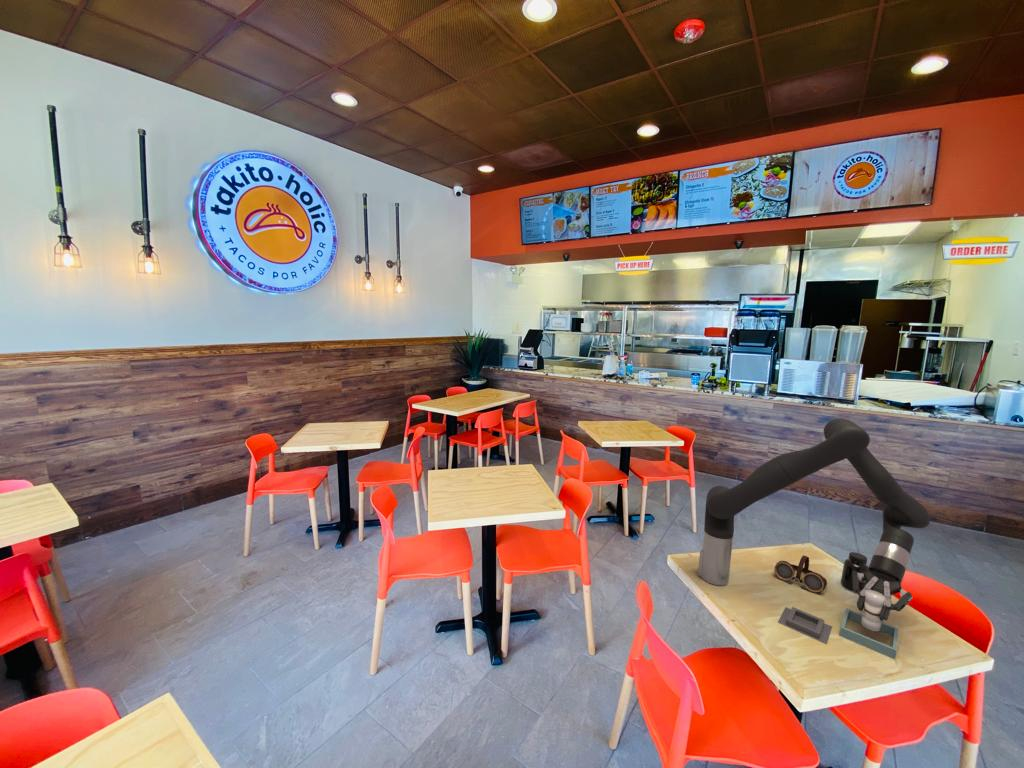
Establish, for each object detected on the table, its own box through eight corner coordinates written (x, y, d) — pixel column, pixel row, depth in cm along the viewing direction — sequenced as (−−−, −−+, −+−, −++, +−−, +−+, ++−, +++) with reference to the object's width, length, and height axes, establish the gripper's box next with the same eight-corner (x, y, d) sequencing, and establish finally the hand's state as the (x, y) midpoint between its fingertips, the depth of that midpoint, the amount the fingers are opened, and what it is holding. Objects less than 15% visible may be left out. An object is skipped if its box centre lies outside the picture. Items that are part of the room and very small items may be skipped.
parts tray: (838, 638, 121) (840, 627, 120) (844, 618, 129) (846, 608, 129) (894, 662, 112) (896, 650, 112) (896, 639, 121) (898, 628, 120)
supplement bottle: (859, 596, 140) (865, 563, 138) (836, 584, 146) (841, 552, 144) (869, 590, 143) (875, 558, 142) (846, 579, 149) (851, 548, 148)
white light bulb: (860, 626, 120) (865, 594, 119) (861, 618, 123) (866, 587, 122) (879, 633, 117) (884, 601, 116) (880, 626, 120) (885, 594, 119)
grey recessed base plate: (777, 625, 125) (778, 617, 125) (785, 609, 133) (786, 602, 132) (826, 647, 117) (827, 639, 117) (831, 629, 124) (833, 621, 124)
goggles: (770, 577, 150) (775, 549, 150) (780, 571, 158) (785, 545, 159) (822, 598, 138) (827, 568, 138) (829, 590, 147) (835, 562, 147)
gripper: (857, 545, 127) (838, 596, 122) (921, 568, 116) (902, 625, 111) (860, 556, 131) (842, 605, 126) (922, 579, 120) (905, 634, 115)
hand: (870, 614), depth 118 cm, fingers closed on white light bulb, 4 cm apart
